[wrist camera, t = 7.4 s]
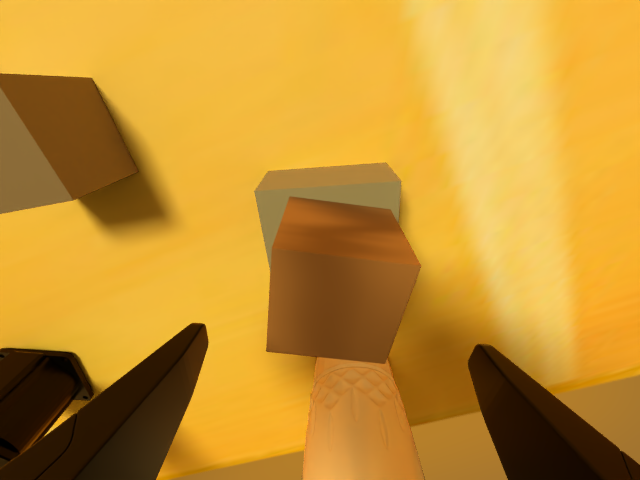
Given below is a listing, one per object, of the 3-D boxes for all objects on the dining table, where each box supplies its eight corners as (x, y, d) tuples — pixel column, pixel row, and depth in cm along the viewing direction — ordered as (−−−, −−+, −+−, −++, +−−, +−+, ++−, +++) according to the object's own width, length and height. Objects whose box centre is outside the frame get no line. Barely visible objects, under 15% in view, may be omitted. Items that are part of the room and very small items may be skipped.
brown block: (139, 171, 17) (73, 200, 12) (66, 185, 17) (-22, 217, 13) (92, 78, 14) (-9, 73, 10) (10, 97, 15) (-121, 100, 11)
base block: (381, 260, 20) (393, 296, 16) (285, 265, 20) (276, 302, 17) (385, 161, 16) (401, 180, 13) (269, 169, 17) (254, 191, 13)
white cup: (404, 383, 26) (444, 534, 17) (325, 399, 27) (325, 545, 19) (383, 326, 22) (420, 478, 14) (294, 347, 24) (276, 497, 15)
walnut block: (390, 209, 14) (421, 266, 9) (368, 288, 16) (385, 364, 12) (289, 196, 13) (271, 247, 9) (283, 278, 16) (266, 351, 11)
